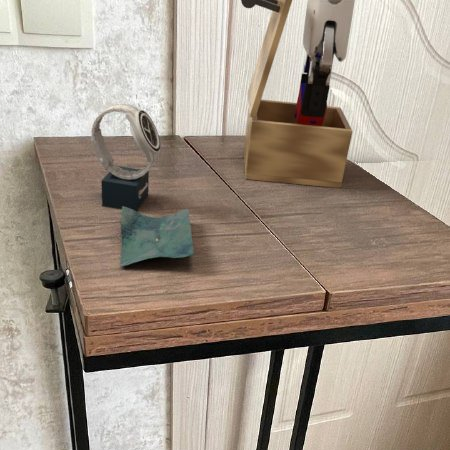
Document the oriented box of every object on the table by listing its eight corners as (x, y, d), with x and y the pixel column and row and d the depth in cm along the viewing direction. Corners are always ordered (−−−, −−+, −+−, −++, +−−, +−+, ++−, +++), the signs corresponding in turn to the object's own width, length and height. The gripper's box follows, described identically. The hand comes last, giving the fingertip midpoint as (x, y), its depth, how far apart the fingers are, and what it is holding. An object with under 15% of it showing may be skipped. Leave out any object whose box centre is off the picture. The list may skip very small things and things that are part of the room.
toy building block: (294, 134, 90) (305, 86, 83) (294, 113, 92) (304, 64, 84) (319, 137, 90) (331, 89, 83) (318, 115, 92) (330, 67, 85)
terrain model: (193, 270, 66) (194, 253, 64) (118, 270, 65) (117, 253, 64) (188, 219, 75) (188, 204, 74) (122, 219, 75) (122, 203, 73)
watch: (152, 213, 76) (154, 118, 69) (88, 203, 77) (83, 108, 70) (163, 197, 80) (166, 105, 73) (102, 187, 81) (99, 96, 74)
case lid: (286, -17, 83) (245, -32, 82) (294, -5, 74) (247, -22, 73) (252, 95, 92) (214, 83, 91) (255, 118, 83) (213, 104, 82)
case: (330, 160, 98) (340, 107, 93) (340, 188, 89) (352, 131, 84) (243, 152, 97) (249, 98, 92) (245, 179, 88) (251, 121, 83)
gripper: (380, -39, 70) (345, 131, 81) (356, -51, 83) (329, 97, 94) (314, -47, 69) (288, 126, 81) (300, -58, 82) (279, 92, 94)
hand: (310, 109), depth 88 cm, fingers closed on toy building block, 4 cm apart
